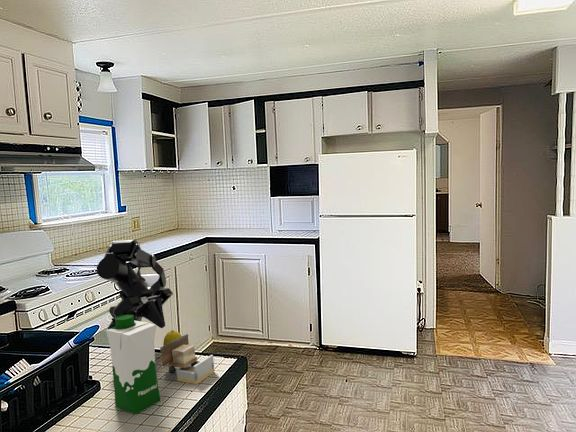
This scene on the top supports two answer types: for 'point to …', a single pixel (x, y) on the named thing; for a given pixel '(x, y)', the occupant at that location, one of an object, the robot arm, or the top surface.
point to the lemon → (171, 337)
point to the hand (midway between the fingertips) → (163, 327)
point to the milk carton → (133, 364)
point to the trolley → (178, 354)
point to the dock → (194, 371)
